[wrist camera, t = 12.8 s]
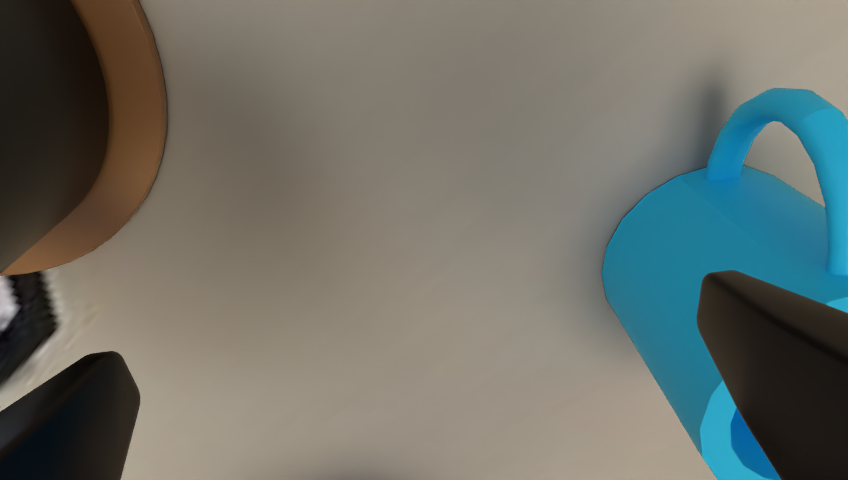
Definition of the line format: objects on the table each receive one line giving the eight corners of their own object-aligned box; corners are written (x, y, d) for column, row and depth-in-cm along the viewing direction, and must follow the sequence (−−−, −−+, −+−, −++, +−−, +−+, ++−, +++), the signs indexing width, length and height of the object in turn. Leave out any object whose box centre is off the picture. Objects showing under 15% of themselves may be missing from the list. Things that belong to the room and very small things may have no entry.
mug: (783, 321, 24) (947, 480, 17) (600, 349, 25) (687, 518, 17) (843, 41, 19) (1127, 106, 11) (603, 81, 19) (735, 168, 12)
